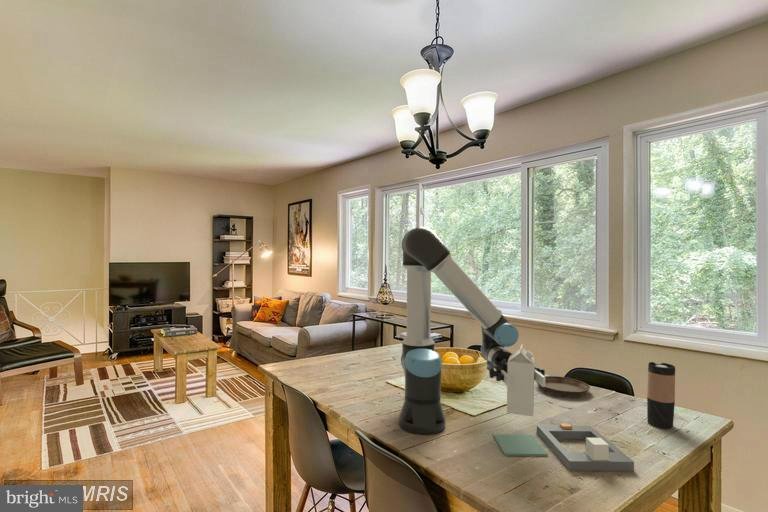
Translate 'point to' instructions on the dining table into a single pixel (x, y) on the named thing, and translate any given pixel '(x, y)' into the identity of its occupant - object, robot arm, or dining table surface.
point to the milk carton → (521, 383)
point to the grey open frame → (597, 449)
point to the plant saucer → (564, 386)
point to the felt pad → (519, 445)
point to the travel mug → (661, 395)
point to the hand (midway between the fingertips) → (526, 381)
